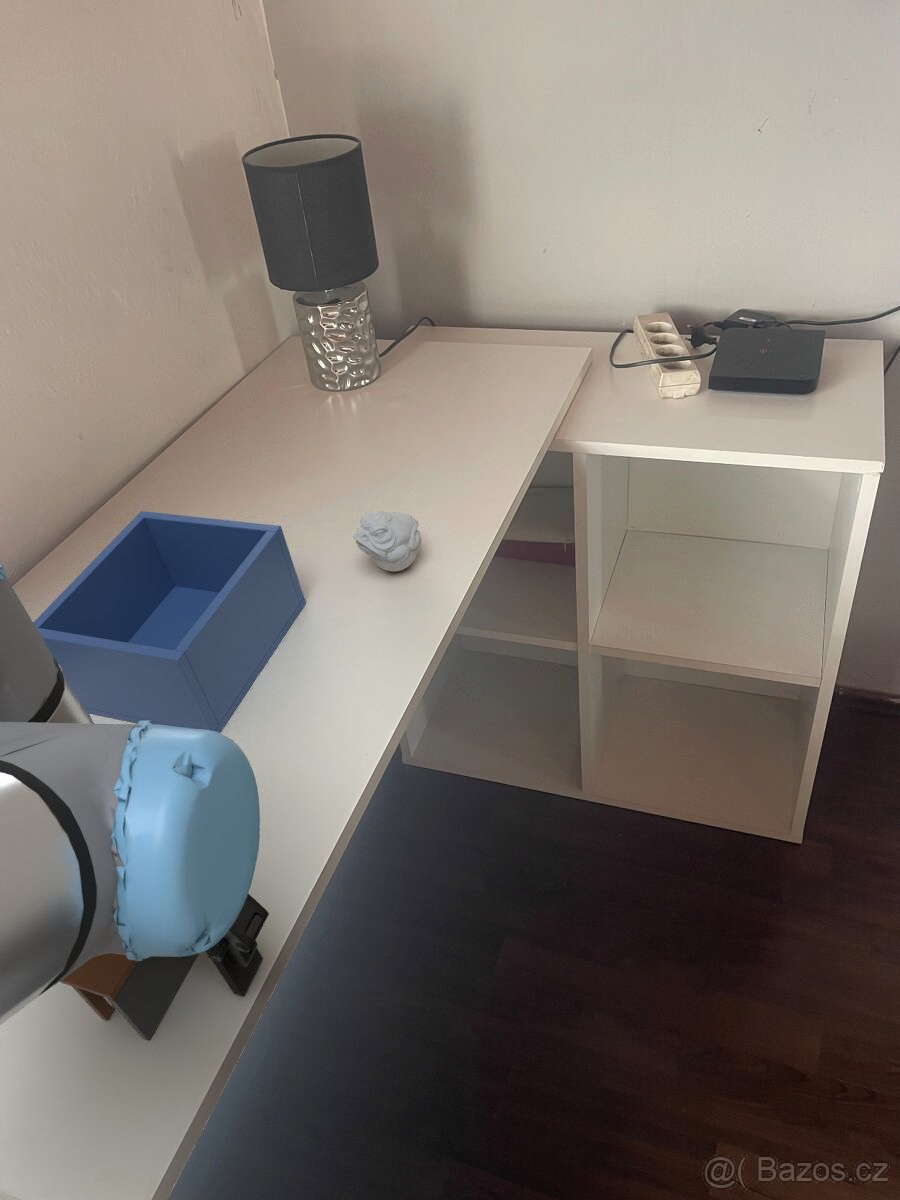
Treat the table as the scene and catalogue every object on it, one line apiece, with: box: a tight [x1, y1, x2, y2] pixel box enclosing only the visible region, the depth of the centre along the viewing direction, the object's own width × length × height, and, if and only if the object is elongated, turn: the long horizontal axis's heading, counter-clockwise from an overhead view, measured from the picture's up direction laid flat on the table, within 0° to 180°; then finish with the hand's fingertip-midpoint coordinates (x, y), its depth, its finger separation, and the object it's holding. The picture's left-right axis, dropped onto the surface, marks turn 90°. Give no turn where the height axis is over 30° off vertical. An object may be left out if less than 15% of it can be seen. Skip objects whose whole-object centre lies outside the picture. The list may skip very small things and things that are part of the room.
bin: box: [32, 510, 307, 733], centre depth 81 cm, size 18×16×10 cm
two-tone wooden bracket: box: [59, 953, 200, 1042], centre depth 58 cm, size 4×11×7 cm, turn 160°
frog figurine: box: [352, 510, 422, 572], centre depth 88 cm, size 6×7×7 cm
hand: (169, 951), depth 60 cm, fingers open, 12 cm apart
